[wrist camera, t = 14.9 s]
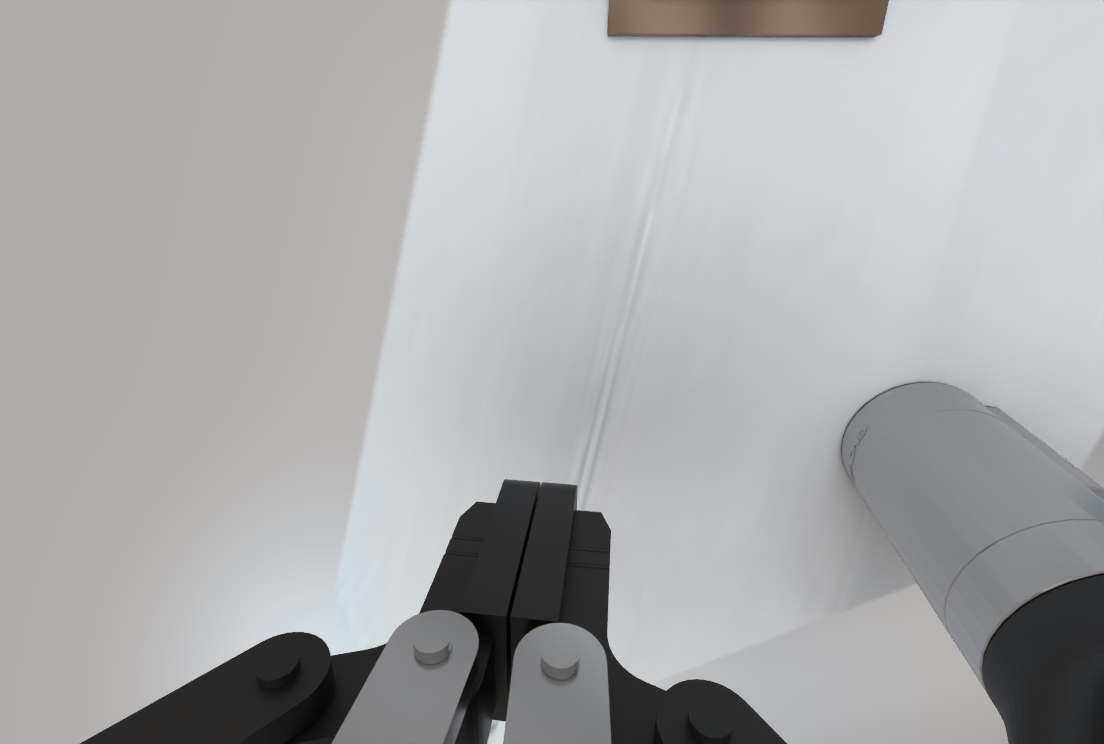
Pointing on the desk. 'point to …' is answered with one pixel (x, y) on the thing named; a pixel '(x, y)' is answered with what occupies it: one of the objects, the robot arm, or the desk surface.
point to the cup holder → (747, 18)
